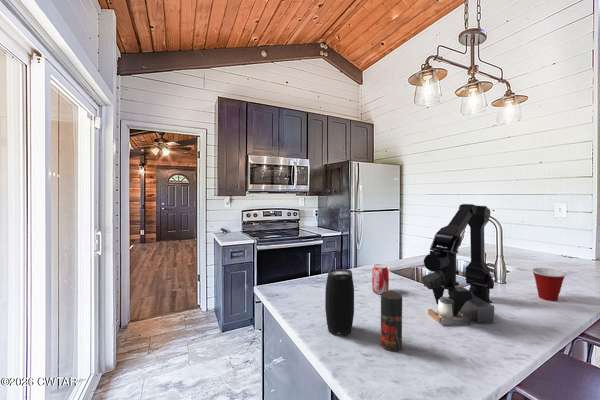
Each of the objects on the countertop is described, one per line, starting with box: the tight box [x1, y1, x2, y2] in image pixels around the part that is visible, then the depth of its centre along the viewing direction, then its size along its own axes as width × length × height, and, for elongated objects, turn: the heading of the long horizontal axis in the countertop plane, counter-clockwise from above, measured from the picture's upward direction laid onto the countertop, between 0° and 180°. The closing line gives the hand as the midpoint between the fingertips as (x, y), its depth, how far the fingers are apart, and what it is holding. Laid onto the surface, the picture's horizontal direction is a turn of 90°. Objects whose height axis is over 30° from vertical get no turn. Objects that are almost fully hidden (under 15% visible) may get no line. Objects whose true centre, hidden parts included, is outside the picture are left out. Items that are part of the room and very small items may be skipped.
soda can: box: [371, 263, 390, 295], centre depth 120 cm, size 7×7×12 cm
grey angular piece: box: [427, 295, 495, 327], centre depth 97 cm, size 19×12×6 cm, turn 95°
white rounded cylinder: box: [437, 296, 455, 318], centre depth 96 cm, size 5×5×7 cm
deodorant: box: [380, 291, 403, 353], centre depth 78 cm, size 6×6×15 cm
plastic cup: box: [531, 267, 567, 302], centre depth 113 cm, size 11×11×12 cm
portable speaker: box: [324, 268, 355, 336], centre depth 87 cm, size 9×9×20 cm
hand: (446, 309), depth 96 cm, fingers open, 9 cm apart
